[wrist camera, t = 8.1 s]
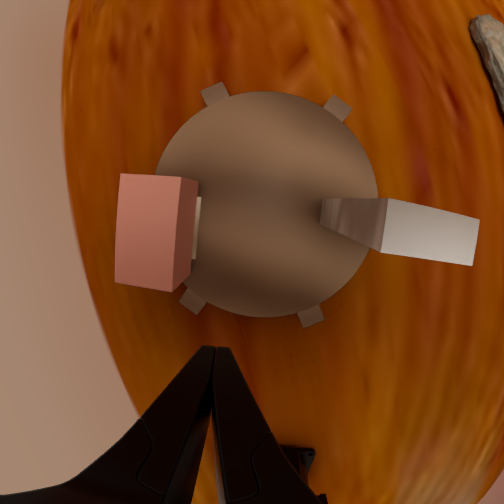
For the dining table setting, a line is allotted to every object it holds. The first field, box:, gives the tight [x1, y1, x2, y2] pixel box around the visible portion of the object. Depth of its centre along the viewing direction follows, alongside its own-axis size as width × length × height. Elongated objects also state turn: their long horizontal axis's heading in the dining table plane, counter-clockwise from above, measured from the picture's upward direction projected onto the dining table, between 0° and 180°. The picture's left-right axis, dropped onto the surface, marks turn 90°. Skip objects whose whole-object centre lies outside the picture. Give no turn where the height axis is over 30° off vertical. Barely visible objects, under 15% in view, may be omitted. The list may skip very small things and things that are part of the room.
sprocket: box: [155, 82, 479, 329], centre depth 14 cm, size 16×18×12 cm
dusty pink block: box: [115, 174, 199, 292], centre depth 17 cm, size 4×6×4 cm, turn 173°
